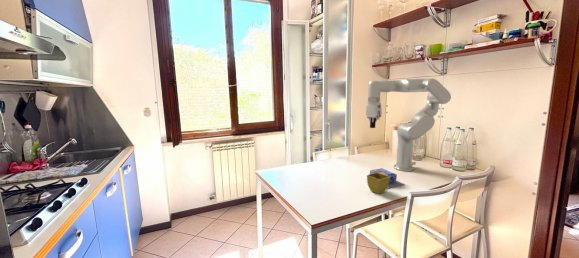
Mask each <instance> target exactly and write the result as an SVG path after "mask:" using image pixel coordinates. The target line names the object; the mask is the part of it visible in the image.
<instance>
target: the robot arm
mask: <svg viewBox="0 0 579 258" xmlns="http://www.w3.org/2000/svg"><path fill="white" fill-rule="evenodd" d="M367 91H368V93H367V103H366V108H365V115H366V118H367V119H368V120H369V128H370V129H375V128H376V122H377V121H379V120H380V118H381V117H382V110H383V109H382V102H381V93H390V92H396V93H397V92H398V93H425V92H427V93H428V94H427V95H426V104H425V106H424V107H422V108H421V109H420V110H419V111H418V112H417V113H416V114H414V115H413V116H411V119H410V122H411V123H408V122H403V123H401V124H399V125H398V127H397V130H396V132H397V133H396V134H397V149H396V163H395V164H394V165H393V168H394V169H395V170H397V171H402V172H411V171H414V169H415V168H414V165H417V162H416V161H413V149H414V141H416V140H418V139H420V138H421V137H422V136H424V135H425V134H426V133H428V132H429V131H430V130H432V128H433V127H434V125H435V123H436V120H435V116H436V115H437V114H438V112H439V107H440V104H441V105H446V104H447V103H450V101H451V99H452V93H450V91H449V90H448V89H447V88H446V87H445V86H444V85H443V84H442V83H441V82H440V81H439V80H437V79H435V78H407V79H404V78H403V79H396V80H380V81H379V80H371V81H370V80H369V81H368V89H367Z"/></svg>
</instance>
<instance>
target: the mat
mask: <svg viewBox="0 0 579 258" xmlns="http://www.w3.org/2000/svg"><path fill="white" fill-rule="evenodd" d="M401 186H405V184H404V182H401V181H399V180H396V183H390V184H388V187H387V189H386V190H389V189H392V188H397V187H401Z"/></svg>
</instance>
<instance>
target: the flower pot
mask: <svg viewBox="0 0 579 258" xmlns="http://www.w3.org/2000/svg"><path fill="white" fill-rule="evenodd" d="M366 180H367V181H366V182H367V186H368V188H369V190H370V191H371V192H374V193H376V194H378V195H379V194H382V193H385V192H386V190H388V189H387V187H388V184H389V180H390V177H389V176H386V175H383V174H380V173H372V174H370V173H369V174H367V175H366Z"/></svg>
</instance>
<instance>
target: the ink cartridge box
mask: <svg viewBox="0 0 579 258" xmlns="http://www.w3.org/2000/svg"><path fill="white" fill-rule="evenodd" d="M372 173H380V174H383V175H386V176H389V177H390V180H389V184H390V183H396V181H397V174H398V173H397V174H396V173H394V172H391V171H390V170H387V169H384V168H375V169H370V170H369V174H372Z"/></svg>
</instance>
